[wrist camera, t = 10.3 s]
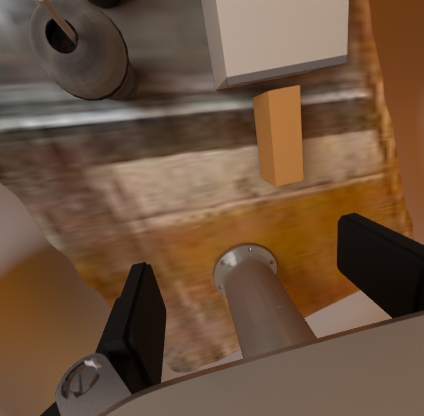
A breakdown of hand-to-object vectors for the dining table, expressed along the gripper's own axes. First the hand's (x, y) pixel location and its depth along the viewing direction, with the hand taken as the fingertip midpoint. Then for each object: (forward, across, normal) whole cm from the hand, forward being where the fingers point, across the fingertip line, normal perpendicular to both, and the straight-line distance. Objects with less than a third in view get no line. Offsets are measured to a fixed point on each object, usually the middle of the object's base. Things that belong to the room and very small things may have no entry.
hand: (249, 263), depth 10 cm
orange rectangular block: (+25, -11, -3) cm, 28 cm away
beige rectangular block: (+26, -11, -17) cm, 33 cm away
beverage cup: (+26, +8, -14) cm, 31 cm away
